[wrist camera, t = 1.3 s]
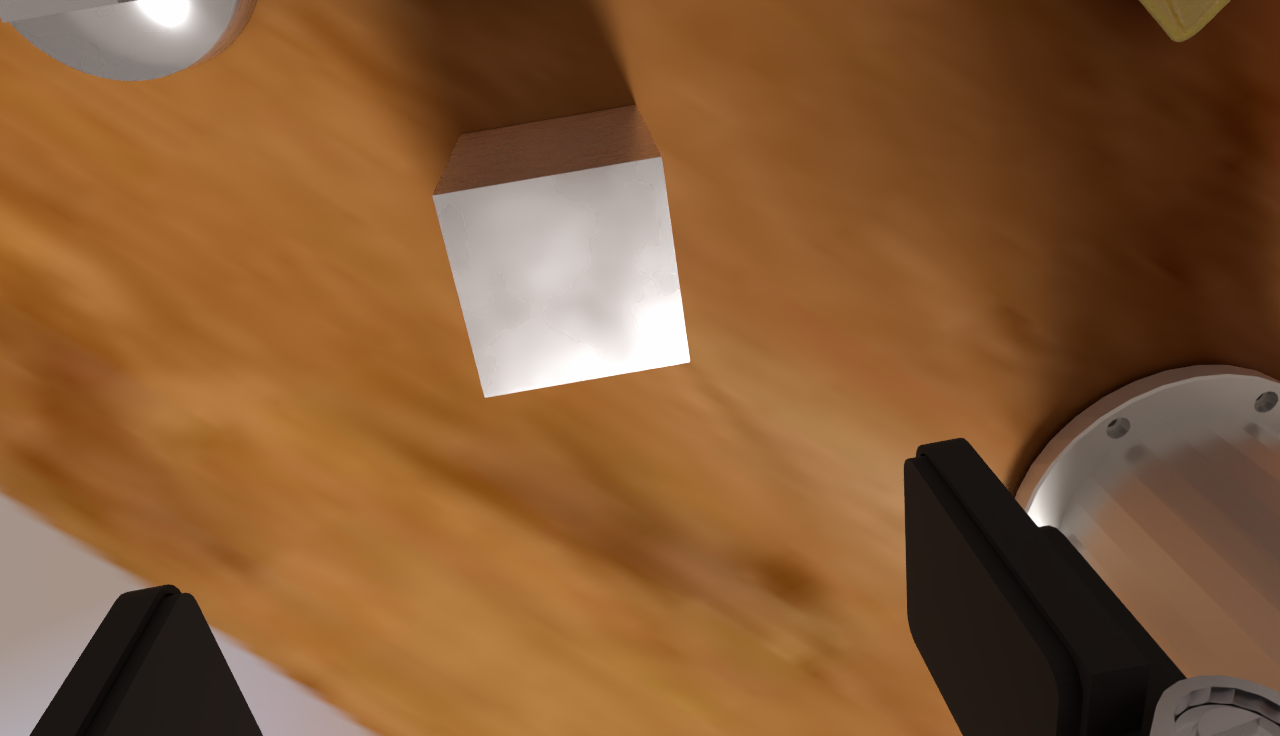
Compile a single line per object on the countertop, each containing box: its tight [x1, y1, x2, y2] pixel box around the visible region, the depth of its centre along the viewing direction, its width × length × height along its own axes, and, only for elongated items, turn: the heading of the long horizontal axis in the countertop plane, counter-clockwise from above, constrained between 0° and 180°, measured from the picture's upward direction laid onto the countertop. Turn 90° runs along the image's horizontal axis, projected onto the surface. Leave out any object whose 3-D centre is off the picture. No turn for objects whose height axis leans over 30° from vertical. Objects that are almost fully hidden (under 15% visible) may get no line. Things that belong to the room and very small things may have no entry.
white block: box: [433, 105, 690, 398], centre depth 25 cm, size 5×5×7 cm
